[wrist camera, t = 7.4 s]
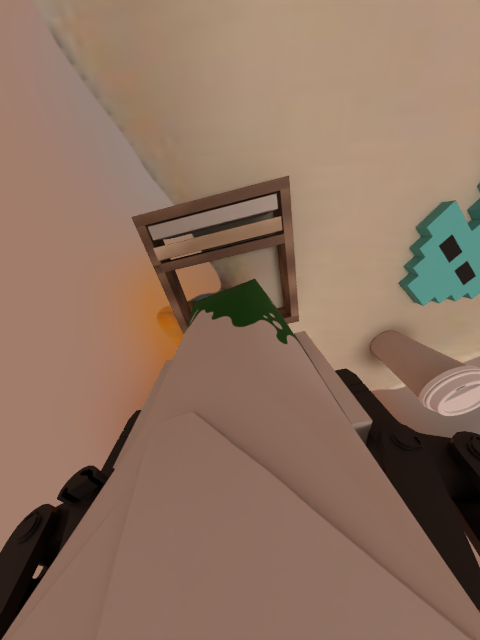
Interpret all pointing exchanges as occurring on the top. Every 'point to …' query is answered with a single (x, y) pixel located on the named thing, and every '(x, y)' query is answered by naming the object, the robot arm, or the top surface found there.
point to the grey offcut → (214, 218)
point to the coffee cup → (430, 374)
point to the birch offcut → (219, 238)
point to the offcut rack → (281, 238)
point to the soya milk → (247, 512)
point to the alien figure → (445, 256)
